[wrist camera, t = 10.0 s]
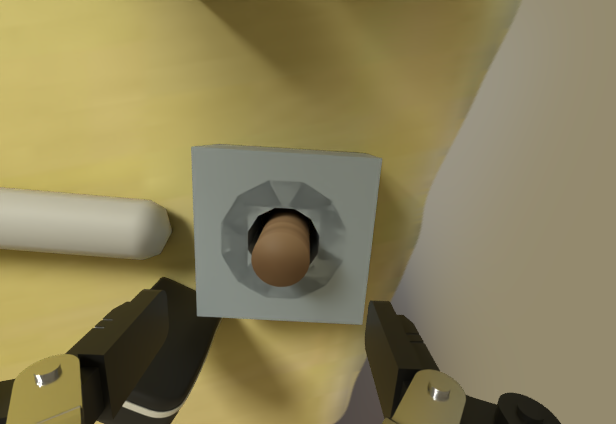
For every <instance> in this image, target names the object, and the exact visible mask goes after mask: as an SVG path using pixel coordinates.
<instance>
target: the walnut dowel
mask: <svg viewBox="0 0 616 424" xmlns="http://www.w3.org/2000/svg"><path fill="white" fill-rule="evenodd" d="M251 263H252V267H253V270H254V272H255V273H256V275H257V276H258V277H259V278H260V279H261V280H262V281H263V282H265V283H267V284H269V285H272V286H275V287H287V286H291V285H293V284H295V283H297V282H299V281H300V280H301V279H302V278H303V277H304V276H305V274H306V273H307V271H308V268H309V264H310V242H309V218H308V217H307V216H305V215H303V214H302V213H300V212H299V211H297V210H296V209H289V208H273V210H272V211H271V214H270V216H269V218H268V220H267V222H266V224H265V226H264V228H263V230H262V232H261V234H260V236H259V238H258V241H257V243H256V245H255V247H254V249H253V252H252V256H251Z"/></svg>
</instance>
